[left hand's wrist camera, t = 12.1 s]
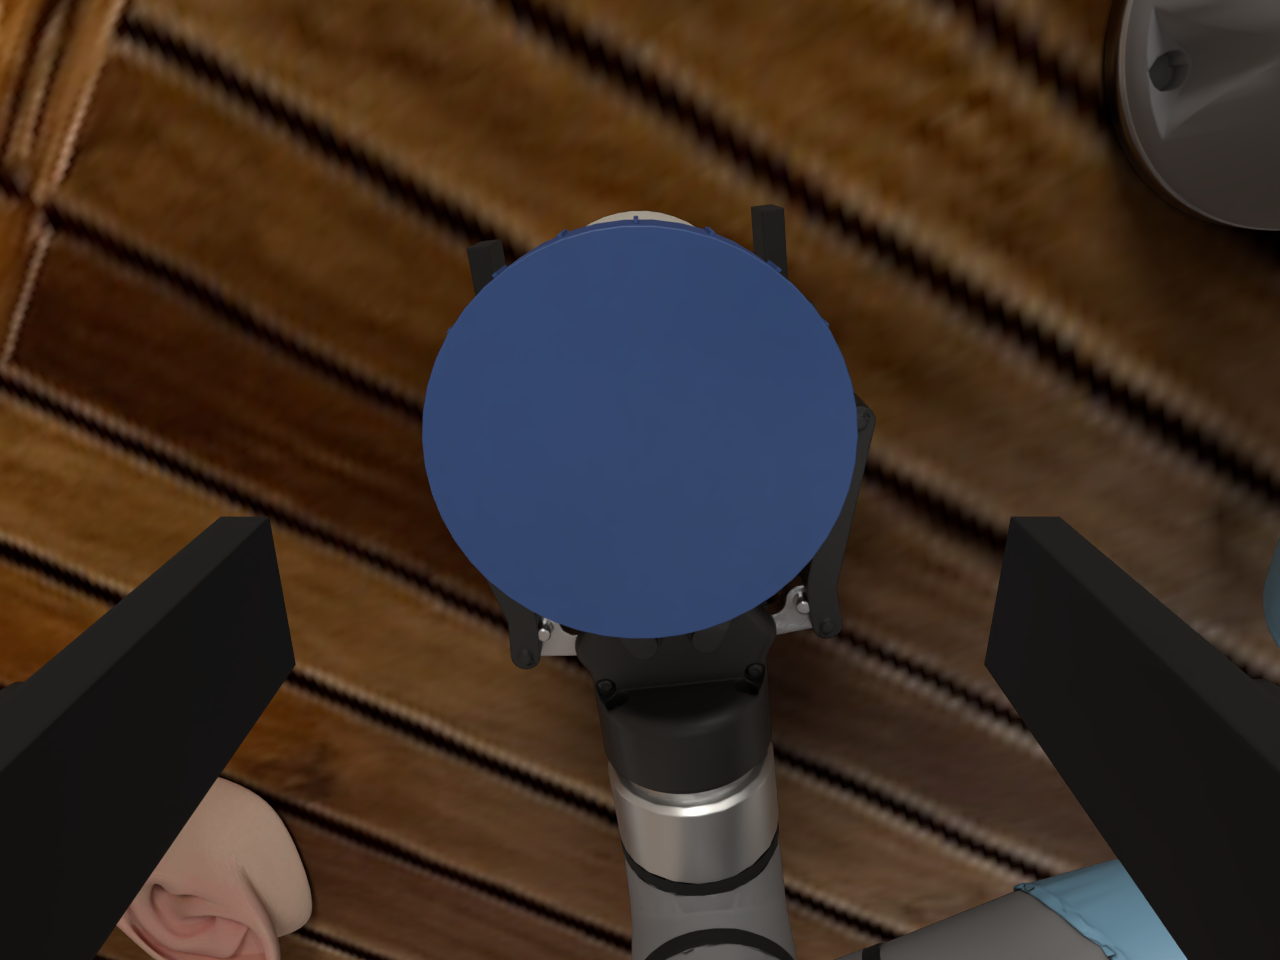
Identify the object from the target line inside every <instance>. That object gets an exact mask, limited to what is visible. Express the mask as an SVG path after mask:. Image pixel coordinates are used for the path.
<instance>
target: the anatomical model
mask: <svg viewBox="0 0 1280 960" xmlns="http://www.w3.org/2000/svg"><path fill="white" fill-rule="evenodd" d="M311 912H312V898H311V891H310V887H309V883H308V879H307V876H306V873H305V870H304V867H303V864H302V861H301V859H300V857H299V854H298V852H297V849H296V847H295V844H294V842H293V840H292V838H291V836H290V834H289V832H288V830H287V829H286V827H285V825H284V824H283V822H282V820H281V819H280V817H279V816H278V815H277V813H276V812H275V811H274V809H273V808H272V807H271V806H270V805H269V804H268V803H267V802H266V801H265V800H263V799H262V798H261V797H260V796H258V795H257V794H255V793H254V792H252V791H250V790H249V789H247V788H245V787H243V786H241V785H238V784H236V783H233V782H231V781H228V780H226V779H223V778H220V777H218V778H217V780H216V781H215V782H214V784H213V785H212V787H211V788H210V790H209V791H208V793H207V794H206V796H205V797H204V798H203V800H202V801H201V803H200V804H199V806H198V807H197V809H196V810H195V812H194V813H193V814H192V816H191V817H190V819H189V820H188V822H187V823H186V825H185V826H184V827H183V829H182V830H181V832H180V833H179V835H178V836H177V838H176V839H175V841H174V842H173V843H172V845H171V846H170V848H169V849H168V851H167V852H166V854H165V855H164V857H163V858H162V859H161V861H160V862H159V864H158V865H157V867H156V868H155V870H154V871H153V873H152V874H151V875H150V877H149V878H148V880H147V881H146V883H145V884H144V886H143V887H142V889H141V890H140V891H139V893H138V894H137V896H136V897H135V899H134V900H133V902H132V903H131V905H130V906H129V907H128V909H127V910H126V912H125V913H124V915H123V916H122V918H121V919H120V921H119V922H118V923H117V926H118V927H119V928H120V929H121V930H122V931H123V932H124V933H125V934H126V935H128V936H129V937H130V938H131V939H132V940H133V941H134V942H135V943H136V944H137V945H139V946H140V947H141V948H142V949H143V950H144V951H146V952H147V953H148V954H149V955H150V956H152V957H153V958H154V959H156V960H280V946H279V941H278V938H277V937H281V936H284V935H286V934H289V933H291V932H294V931H296V930H297V929H299V928H301V927H302V926H303V925H304V924H306V922H307V921H308V920H309V918H310V915H311Z"/></svg>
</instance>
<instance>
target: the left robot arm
mask: <svg viewBox="0 0 1280 960" xmlns="http://www.w3.org/2000/svg"><path fill="white" fill-rule="evenodd" d="M1104 71H1105V89H1106V96H1107V103H1108V108H1109V112H1110V117H1111V121H1112V125H1113V127H1114V130H1115V133H1116V136H1117V138H1118V141H1119V143H1120V145H1121V147H1122V149H1123V151H1124V153H1125V155H1126V157H1127V159H1128V161H1129V162H1130V164H1131V165H1132V167H1133V168H1134V170H1135V171H1136V173H1137V174H1138V175H1139V176H1140V177H1141V179H1142V180H1143V181H1144V182H1145V183H1146V185H1147V186H1148V187H1150V188H1151V189H1152V190H1153V191H1154V192H1155V193H1156V194H1157V195H1158V196H1159V197H1161V198H1162V199H1163V200H1165V201H1166V202H1167V203H1169V204H1170V205H1172V206H1173V207H1175V208H1177V209H1179V210H1180V211H1182V212H1184V213H1186V214H1188V215H1190V216H1193V217H1195V218H1198V219H1200V220H1203V221H1207V222H1210V223H1214V224H1218V225H1224V226H1230V227H1237V228H1247V229H1256V230H1275V231H1276V230H1280V0H1113V4H1112V9H1111V13H1110V18H1109V22H1108V29H1107V36H1106V44H1105V62H1104ZM1263 609H1264V614H1265V619H1266V623H1267V626H1268V629H1269V631H1270V634H1271V636H1272V638H1273V640H1274V641H1275V643H1276V644H1277V646H1278V647H1279V649H1280V537H1279V540H1278V543H1277V546H1276V550H1275V553H1274V556H1273V559H1272V562H1271V565H1270V568H1269V571H1268V574H1267V577H1266V580H1265V585H1264V590H1263ZM295 665H296V664H295V658H294V653H293V647H292V642H291V636H290V630H289V625H288V619H287V614H286V608H285V603H284V597H283V592H282V586H281V580H280V575H279V569H278V564H277V558H276V553H275V547H274V541H273V536H272V530H271V525H270V519H269V517H220V518H219V519H218V520H216V521H215V522H214V523H213V524H212V525H210V526H209V527H208V528H207V529H206V530H204V531H203V532H202V533H201V534H200V535H199V536H197V537H196V538H195V539H194V540H193V541H191V542H190V543H189V544H188V545H187V546H185V547H184V548H183V549H182V550H181V551H179V552H178V553H177V554H176V555H175V556H174V557H172V558H171V559H170V560H169V561H168V562H166V563H165V564H164V565H163V566H162V567H160V568H159V569H158V570H157V571H156V572H155V573H153V574H152V575H151V576H150V577H149V578H147V579H146V580H145V581H144V582H143V583H141V584H140V585H139V586H138V587H137V588H136V589H134V590H133V591H132V592H131V593H130V594H128V595H127V596H126V597H125V598H124V599H122V600H121V601H120V602H119V603H118V604H117V605H115V606H114V607H113V608H112V609H111V610H109V611H108V612H107V613H106V614H105V615H103V616H102V617H101V618H100V619H99V620H97V621H96V622H95V623H94V624H93V625H92V626H90V627H89V628H88V629H87V630H86V631H84V632H83V633H82V634H81V635H80V636H78V637H77V638H76V639H75V640H74V641H73V642H71V643H70V644H69V645H68V646H67V647H65V648H64V649H63V650H62V651H61V652H59V653H58V654H57V655H56V656H55V657H54V658H52V659H51V660H50V661H49V662H48V663H46V664H45V665H44V666H43V667H42V668H40V669H39V670H38V671H37V672H36V673H35V674H33V675H32V676H31V677H30V678H29V679H27V680H26V681H25V682H15V683H13V684H11V685H9V686H7V687H5V688H3V689H2V690H0V960H93V958H94V957H95V955H96V954H97V952H98V951H99V950H100V948H101V947H102V945H103V944H104V942H105V941H106V939H107V938H108V936H109V935H110V934H111V932H112V931H113V929H114V928H115V926H116V925H117V923H118V922H119V921H120V919H121V918H122V916H123V915H124V913H125V912H126V910H127V909H128V907H129V906H130V905H131V903H132V902H133V900H134V899H135V897H136V896H137V894H138V893H139V891H140V890H141V889H142V887H143V886H144V884H145V883H146V881H147V880H148V878H149V877H150V875H151V874H152V873H153V871H154V870H155V868H156V867H157V865H158V864H159V862H160V861H161V859H162V858H163V857H164V855H165V854H166V852H167V851H168V849H169V848H170V846H171V845H172V843H173V842H174V841H175V839H176V838H177V836H178V835H179V833H180V832H181V830H182V829H183V827H184V826H185V825H186V823H187V822H188V820H189V819H190V817H191V816H192V814H193V813H194V812H195V810H196V809H197V807H198V806H199V804H200V803H201V801H202V800H203V798H204V797H205V796H206V794H207V793H208V791H209V790H210V788H211V787H212V785H213V784H214V782H215V781H216V780H217V778H218V777H219V775H220V774H221V772H222V771H223V769H224V768H225V766H226V765H227V764H228V762H229V761H230V759H231V758H232V756H233V755H234V753H235V752H236V750H237V749H238V748H239V746H240V745H241V743H242V742H243V740H244V739H245V737H246V736H247V734H248V733H249V732H250V730H251V729H252V727H253V726H254V724H255V723H256V721H257V720H258V718H259V717H260V716H261V714H262V713H263V711H264V710H265V708H266V707H267V705H268V704H269V702H270V701H271V700H272V698H273V697H274V695H275V694H276V692H277V691H278V689H279V688H280V687H281V685H282V684H283V682H284V681H285V679H286V678H287V676H288V675H289V673H290V672H291V671H292V669H293V668H294V666H295ZM984 665H985V666H986V668H987V669H988V671H989V672H990V673H991V675H992V676H993V678H994V679H995V681H996V682H997V684H998V685H999V687H1000V688H1001V689H1002V691H1003V692H1004V694H1005V695H1006V697H1007V698H1008V700H1009V701H1010V702H1011V704H1012V705H1013V707H1014V708H1015V710H1016V711H1017V713H1018V714H1019V716H1020V717H1021V718H1022V720H1023V721H1024V723H1025V724H1026V726H1027V727H1028V729H1029V730H1030V732H1031V733H1032V734H1033V736H1034V737H1035V739H1036V740H1037V742H1038V743H1039V745H1040V746H1041V748H1042V749H1043V750H1044V752H1045V753H1046V755H1047V756H1048V758H1049V759H1050V761H1051V762H1052V764H1053V765H1054V766H1055V768H1056V769H1057V771H1058V772H1059V774H1060V775H1061V777H1062V778H1063V780H1064V781H1065V782H1066V784H1067V785H1068V787H1069V788H1070V790H1071V791H1072V793H1073V794H1074V796H1075V797H1076V798H1077V800H1078V801H1079V803H1080V804H1081V806H1082V807H1083V809H1084V810H1085V812H1086V813H1087V814H1088V816H1089V817H1090V819H1091V820H1092V822H1093V823H1094V825H1095V826H1096V827H1097V829H1098V830H1099V832H1100V833H1101V835H1102V836H1103V838H1104V839H1105V841H1106V842H1107V843H1108V845H1109V846H1110V848H1111V849H1112V851H1113V852H1114V854H1115V855H1116V857H1117V858H1118V859H1119V861H1120V862H1121V864H1122V865H1123V867H1124V868H1125V870H1126V871H1127V873H1128V874H1129V875H1130V877H1131V878H1132V880H1133V881H1134V883H1135V884H1136V886H1137V887H1138V889H1139V890H1140V891H1141V893H1142V894H1143V896H1144V897H1145V899H1146V900H1147V902H1148V903H1149V905H1150V906H1151V907H1152V909H1153V910H1154V912H1155V913H1156V915H1157V916H1158V918H1159V919H1160V921H1161V922H1162V923H1163V925H1164V926H1165V928H1166V929H1167V931H1168V932H1169V934H1170V935H1171V936H1172V938H1173V939H1174V941H1175V942H1176V944H1177V945H1178V947H1179V948H1180V950H1181V951H1182V952H1183V954H1184V955H1185V957H1186V958H1187V960H1280V687H1279V686H1277V685H1275V684H1273V683H1272V682H1270V681H1268V680H1266V679H1251V678H1250V677H1249V676H1248V675H1247V674H1245V673H1244V672H1243V671H1242V670H1241V669H1240V668H1238V667H1237V666H1236V665H1235V664H1234V663H1232V662H1231V661H1230V660H1229V659H1228V658H1226V657H1225V656H1224V655H1223V654H1222V653H1221V652H1219V651H1218V650H1217V649H1216V648H1215V647H1213V646H1212V645H1211V644H1210V643H1209V642H1207V641H1206V640H1205V639H1204V638H1203V637H1202V636H1200V635H1199V634H1198V633H1197V632H1196V631H1194V630H1193V629H1192V628H1191V627H1190V626H1188V625H1187V624H1186V623H1185V622H1184V621H1183V620H1181V619H1180V618H1179V617H1178V616H1177V615H1175V614H1174V613H1173V612H1172V611H1171V610H1169V609H1168V608H1167V607H1166V606H1165V605H1163V604H1162V603H1161V602H1160V601H1159V600H1158V599H1156V598H1155V597H1154V596H1153V595H1152V594H1150V593H1149V592H1148V591H1147V590H1146V589H1144V588H1143V587H1142V586H1141V585H1140V584H1139V583H1137V582H1136V581H1135V580H1134V579H1133V578H1131V577H1130V576H1129V575H1128V574H1127V573H1125V572H1124V571H1123V570H1122V569H1121V568H1120V567H1118V566H1117V565H1116V564H1115V563H1114V562H1112V561H1111V560H1110V559H1109V558H1108V557H1106V556H1105V555H1104V554H1103V553H1102V552H1101V551H1099V550H1098V549H1097V548H1096V547H1095V546H1093V545H1092V544H1091V543H1090V542H1089V541H1087V540H1086V539H1085V538H1084V537H1083V536H1081V535H1080V534H1079V533H1078V532H1077V531H1076V530H1074V529H1073V528H1072V527H1071V526H1070V525H1068V524H1067V523H1066V522H1065V521H1064V520H1062V519H1061V518H1060V517H1011V519H1010V525H1009V530H1008V536H1007V541H1006V547H1005V553H1004V558H1003V564H1002V569H1001V575H1000V580H999V586H998V591H997V597H996V603H995V608H994V614H993V619H992V625H991V630H990V636H989V642H988V647H987V653H986V658H985V664H984Z"/></svg>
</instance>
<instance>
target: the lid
mask: <svg viewBox="0 0 1280 960" xmlns="http://www.w3.org/2000/svg"><path fill="white" fill-rule="evenodd" d="M780 272H781V269H780V268H779V267H778V266H776V265H775V264H774V263H772V262H771V261H770V260H768V261H767V263H766V262H765V261H764V260H762V259H761V258H760V257H758V256H757V255H755V254H754V253H752V252H750V251H749V250H747V249H745V248H744V247H742V246H740V245H739V244H737V243H735V242H734V241H731V240H729V239H727V238H724V237H722V236H720V235H717V234H715V232H714V231H713V230H712V229H711V228H710V227H707V226H706V227H705V229H701V228H697V227H694V226H690V225H686V224H683V223H677V222H669V221H661V220H654V219H638V216H634V218H633V220H618V221H611V222H604V223H597V224H593V225H590V226H586V227H583V228H580V229H576V230H573V231H569V232H568V231H567V229H565V230H563V231H562V232H560V233H559V234H558V235H557V237H556V238H553V239H551V240H549V241H547V242H545V243H543V244H541V245H539V246H538V247H536V248H535V249H533V250H531V251H530V252H528V253H527V254H525V255H523V256H522V257H520V258H519V259H518V260H516V261H515V262H514V263H512V264H511V265H510V266H509V267H507V266H506V265H504V266H503V267H502V268H500V269H499V270H498V271H496V272H495V273H494V274H493V275H492V276H493V277H494V279H493V280H492V281H491V282H489V283H488V284H487V285H486V286H485V287H484V288H483V289H482V290H481V291H480V292H479V293H478V294H477V296H476V297H475V298H474V299H473V300H472V301H471V302H470V303H469V304H468V306H467V307H466V308H465V309H464V311H463V312H462V313H461V315H460V316H459V318H458V319H457V321H456V322H455V324H454V325H453V326H452V327H451V328H450V329H449V330H448V331H447V334H448V335H447V337H446V339H445V341H444V343H443V345H442V347H441V349H440V352H439V354H438V356H437V358H436V361H435V364H434V367H433V370H432V373H431V376H430V379H429V382H428V386H427V392H426V397H425V404H424V410H423V431H422V442H423V451H424V460H425V468H426V472H427V476H428V480H429V484H430V488H431V492H432V494H433V497H434V499H435V502H436V504H437V507H438V510H439V512H440V515H441V517H442V519H443V521H444V522H445V524H446V526H447V528H448V530H449V531H450V533H451V535H452V537H453V538H454V540H455V542H456V543H457V544H458V546H459V547H460V548H461V550H462V551H463V552H464V554H465V555H466V556H467V558H468V559H469V561H470V562H471V563H472V564H473V565H474V566H475V567H476V568H477V569H478V570H479V571H480V572H481V573H482V574H483V575H484V576H485V577H486V578H487V580H489V581H490V582H491V583H492V584H493V585H495V586H496V587H497V588H498V589H500V590H501V591H502V592H503V593H504V594H506V595H507V596H508V597H510V598H511V599H513V600H514V601H516V602H518V603H519V604H521V605H522V606H524V607H525V608H527V609H529V610H530V611H532V612H534V613H536V614H538V615H541V616H543V617H545V618H547V619H549V620H551V621H553V622H556V623H559V624H561V625H564V626H567V627H570V628H573V629H576V630H579V631H584V632H588V633H593V634H597V635H602V636H610V637H619V638H661V637H670V636H678V635H683V634H687V633H692V632H696V631H700V630H704V629H707V628H710V627H713V626H716V625H718V624H721V623H724V622H727V621H730V620H732V619H734V618H736V617H738V616H740V615H742V614H744V613H746V612H748V611H750V610H752V609H753V608H755V607H756V606H758V605H759V604H761V603H763V602H764V601H766V600H767V599H769V598H770V597H772V596H773V595H775V594H776V593H777V592H778V591H779V590H781V589H782V588H783V587H784V586H785V585H787V584H788V583H789V582H790V581H791V580H792V579H794V578H795V577H796V576H797V575H798V573H799V572H800V571H801V570H802V569H803V568H804V567H805V566H806V565H807V564H808V563H809V562H810V560H811V559H812V558H813V557H814V555H815V554H816V553H817V551H818V550H819V548H820V547H821V546H822V544H823V543H824V541H825V540H826V539H827V537H828V535H829V533H830V532H831V530H832V528H833V526H834V524H835V522H836V520H837V519H838V517H839V515H840V513H841V510H842V507H843V505H844V502H845V499H846V497H847V494H848V492H849V489H850V484H851V480H852V476H853V472H854V467H855V463H856V452H857V441H858V427H857V408H856V403H855V397H854V390H853V387H852V382H851V379H850V376H849V373H848V370H847V367H846V364H845V361H844V358H843V355H842V353H841V351H840V349H839V347H838V345H837V343H836V341H835V339H834V337H833V335H832V333H831V331H830V329H829V328H828V327H829V324H828V323H827V322H826V321H825V320H824V319H823V318H822V317H821V316H820V315H819V314H818V312H817V311H816V309H815V308H814V306H813V305H812V304H811V303H810V302H809V301H808V300H807V299H806V298H805V297H804V296H803V294H802V293H801V292H800V291H799V290H798V289H797V288H796V287H795V286H794V285H793V284H792V283H791V282H790V281H788V280H787V279H786V278H785V277H783V276H782V275H781V274H780Z"/></svg>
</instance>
